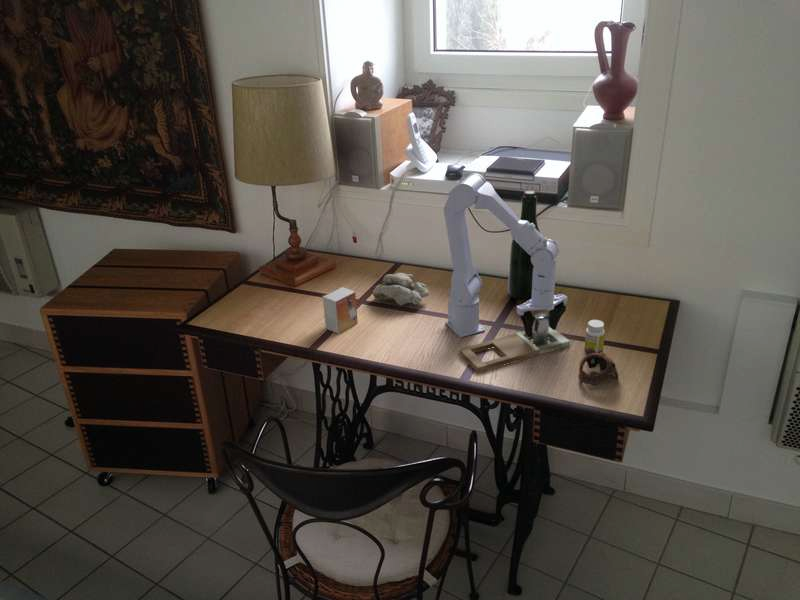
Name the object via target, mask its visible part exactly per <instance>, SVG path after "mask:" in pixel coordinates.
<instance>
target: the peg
mask: <svg viewBox="0 0 800 600" xmlns="http://www.w3.org/2000/svg"><path fill="white" fill-rule="evenodd" d="M533 316H534V317H535V321H534V324H533V337H532V343H533V344H535V345H536V346H537V347H538V346H542V345H545V344H549V338H548V331H549V314H546V313H537V314H534V315H533Z"/></svg>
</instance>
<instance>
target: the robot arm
mask: <svg viewBox="0 0 800 600" xmlns="http://www.w3.org/2000/svg"><path fill="white" fill-rule="evenodd" d="M473 205H474V207H473V209H474V210H488V211H489V212H490V213H491V214H493V216H494V217H496V219H498V220H499V221H500V222H502V224H503V225H505V226H506V227H507V228H508V229H509V230H510V237H511V238H512V239H514V240H515V241H516V242H517V243H518V244H519V245H520V246H521V247H522V248H523V249H524V250H525V251H526V252H527V253H528V254H529V255H530V256H532V257H531V262H532V264H533V266H534V268H533V279H532V298H531V299H530V300H529V301H526V302H525V301H524V303H522V304H519V305H516V313H517V314H518V315H519V318H520V320H521V323H522V326H523V328H524V331H525V334H526V335H527V336H529V337H530V338H533V337H532V331H533V326H534V321H535V317H534V316H535V315H533V313H532V312H535V311H547V312H548V313H549V314H548V316H549V327H550V328H551V329H553V330H556V331H557V327H558V325H559V321H560V320H561V318H562V316H563V315H564V314H565V312H566V311H567V307H566V305H565V304H568V296H566V295H565V294H563V293H561V294H555V288H556V287H555V284H556V272H557V271H556V269H557V268H556V265H557V264H556V259H557V258H558V256H559V254H560V248H559V246H558V244H557V243H556V241H555V240H553V239H549V238H547V237H545V236H544V235H543V234H540V233H541V232H540V233H539V232H538V231H537V230H536V229H535V225H534V224H533V223H531V224H530V223H529V222H528V221H526V220H520V218H519V217H518V216H517V214H515V212H514V211H513V210H512V209H511V208H510V206H508V204H507V203H506V202H505V201H504V200H503V199H502V198H501V197H500V196H499V194H498V193H497V192H496V190H495V189H494V187H493V184H492V183H490V182H488V181H487V180H486V178H485V177H483V175H481V174H479V173H473V172H472V173H470V174H468V175H467V176H466V177H465V178H464V179H462V180H461V182H460V183H458V184H457V185H455V186H454V187H453V188H452V189H451V190H450V191H449V193H448V197H447V200H446V201H445V204H444V206H443V213H444V220H445V226H446V233H447V238H448V245H449V249H450V250H449V251H450V257H451V263H452V270H453V272H452V276H451V281H450V284H451V287H450V290H449V297H450V298H449V300H448V301H447V320H446V321H445V322H444V323H445V325H447V327H449V328H450V329H451V330H452V331H453V332H454V333H455V334H456V335H457V336H458V337H459V338H465V337H467V336H471V335H474V334H479V333H482V332H485V331H486V329H485V328H484V327H483V326H482V325H481V324H480V297H479V292H480V291H481V289H482V288H483V281H482V278H481V277H480V276H479V274H478V269H477V268H476V267H475V266H474V265H473V258H472V252H471V245H470V240H469V238H470V237H469V233H468V226H467V220H466V219H467V218H466V213H465V212H466V210H467V209H469V208H470V207H472V206H473Z"/></svg>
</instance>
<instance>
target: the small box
mask: <svg viewBox="0 0 800 600" xmlns="http://www.w3.org/2000/svg"><path fill="white" fill-rule="evenodd" d="M356 297H357V296H356V291H354V290H351V289H348V288H346V287H343V286H341V287H340V288H337V289H336V290H333V291H332V292H330V293H327V294H325V295H322V303H323V304H322V307H323V313H324V325H325V329H327V330H328V331H332V332H333V333H335V334H339V335H340V334H341V333H343V332H344V331H346V330H349V329H350V328H352V327H353V326H356V325H358V323H359V322H358V320H359V319H358V309H357V298H356Z"/></svg>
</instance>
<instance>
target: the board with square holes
mask: <svg viewBox="0 0 800 600" xmlns="http://www.w3.org/2000/svg"><path fill="white" fill-rule="evenodd" d="M532 336H533V331H532ZM527 337H529V336H527V335H526V334H525V330H524V331H517V332H515V333H512V334H509V335H505V336H501V337H499V338H495V339H491V340H488V341H483V342H480V343H476V344H473V345H469V346H466V347H462V348H459V350H458V352H459V355H460V357H462V358H463V359H464V360H465V361H466V363H468V364H469V366H470V367H472V368H473V369H474V370H475V371H476V373H478V372H479V373H481V371H482V372H485V371H489V370H492V369H494V368H495V367H496V368H499V367H502V366H505V365H504V364H506V365H508V364H507V363H509V364H512V363H511V362H513V363H515V362H514V361H516V362H519V361H522V360H521V359H523V360H525V358H526V359H528V358H527V357H530V358H532V357H531V356H533V357H535V356H534V355H536V356H539V355H538V354H540V355H542V354H541V353H543V354H545V352H547V353H549V352H548V351H550V352H553V351H556V349H557V350H560V349H563V348H567V347H569V346H571V345H570V343H571V340H569V339H568V338H566V337H565V336H564V335H563V334H561V332H559V331H558V330H557V329H556V330H553V329H551V328H550V327H549V331H548V337H549V338H548V339H550V340H551V342H548V344H545V345H542V346H535V345H534V344H533V341H530V339H529V338H527ZM553 341H554V342H553ZM566 346H567V347H566ZM492 347H494V348H495V349H496V350H497V351H498V352H499V353H500V354H501V355H500V354H499V353H498V352H497V351H496V350H495V349H494V348H492ZM488 348H491V349H494V350H495V351H496V352H497V353H498V354H499V355H500V356H501V357H498V358H494V359H490V360H488V361H487V360H486V361H483V360H482V359H481V358H480V357H479V356H477V355H476V354H477V353H479V351H480V352H482V350H484V351H486V350H485V349H487V350H489V349H488ZM552 350H553V351H552ZM476 352H477V353H476ZM518 360H519V361H518ZM501 365H502V366H501ZM488 369H489V370H488Z"/></svg>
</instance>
